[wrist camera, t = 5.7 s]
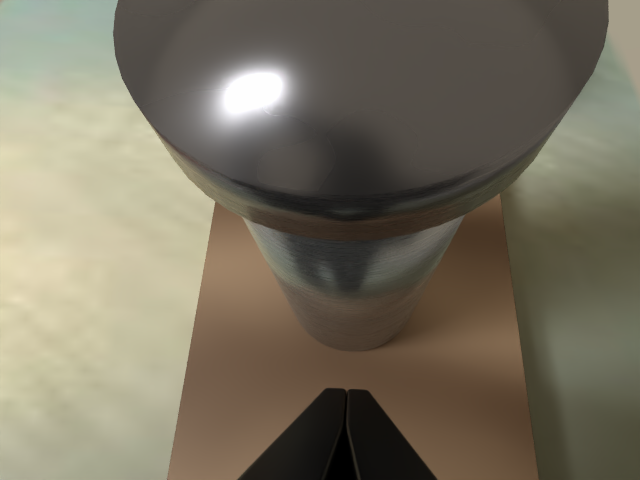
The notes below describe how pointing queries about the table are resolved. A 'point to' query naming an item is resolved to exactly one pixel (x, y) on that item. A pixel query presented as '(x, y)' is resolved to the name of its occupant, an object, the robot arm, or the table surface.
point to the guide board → (359, 362)
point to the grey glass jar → (355, 128)
